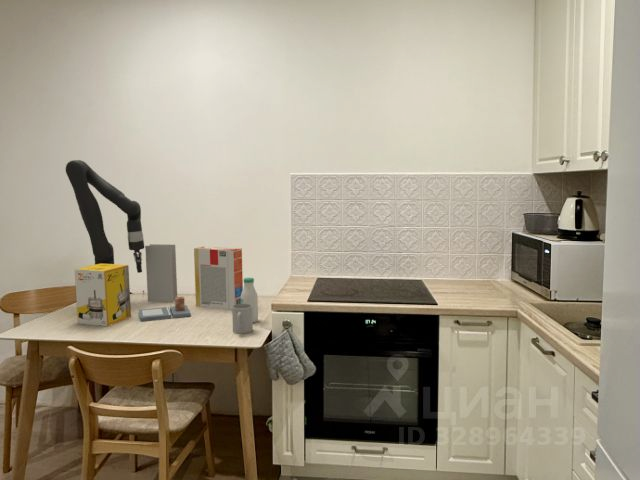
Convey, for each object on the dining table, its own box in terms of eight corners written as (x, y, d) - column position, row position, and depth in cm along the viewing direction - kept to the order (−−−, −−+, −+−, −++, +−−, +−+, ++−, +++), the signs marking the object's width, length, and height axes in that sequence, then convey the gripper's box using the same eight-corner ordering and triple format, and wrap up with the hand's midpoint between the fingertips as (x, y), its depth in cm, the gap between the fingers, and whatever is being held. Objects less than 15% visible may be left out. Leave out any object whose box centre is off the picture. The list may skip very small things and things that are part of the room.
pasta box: (243, 306, 263) (241, 248, 259) (235, 310, 256) (233, 250, 252) (204, 302, 271) (203, 246, 268) (196, 306, 264) (193, 248, 260)
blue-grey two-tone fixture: (173, 317, 242) (172, 302, 241) (170, 309, 257) (169, 294, 256) (190, 316, 245) (190, 300, 244) (186, 308, 259) (186, 293, 258)
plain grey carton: (177, 299, 278) (175, 244, 275) (173, 302, 273) (171, 246, 269) (152, 299, 280) (149, 244, 276) (147, 301, 274) (145, 245, 270)
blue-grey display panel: (140, 321, 236) (139, 317, 236) (138, 313, 251) (138, 309, 251) (171, 318, 241) (171, 314, 241) (168, 310, 256) (168, 306, 256)
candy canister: (260, 319, 239) (260, 277, 237) (253, 324, 232) (252, 280, 229) (245, 318, 242) (245, 276, 239) (238, 322, 234) (237, 279, 232)
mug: (235, 327, 227) (234, 303, 225) (254, 328, 226) (254, 303, 225) (228, 336, 215) (227, 310, 213) (248, 336, 214) (248, 310, 213)
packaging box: (131, 316, 245) (128, 265, 242) (107, 326, 229) (104, 271, 226) (103, 314, 250) (100, 263, 246) (77, 323, 234) (74, 269, 231)
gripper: (127, 239, 269) (131, 269, 271) (128, 242, 256) (132, 274, 258) (142, 237, 272) (146, 267, 274) (144, 240, 258) (147, 272, 261)
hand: (139, 271), depth 266 cm, fingers open, 8 cm apart
